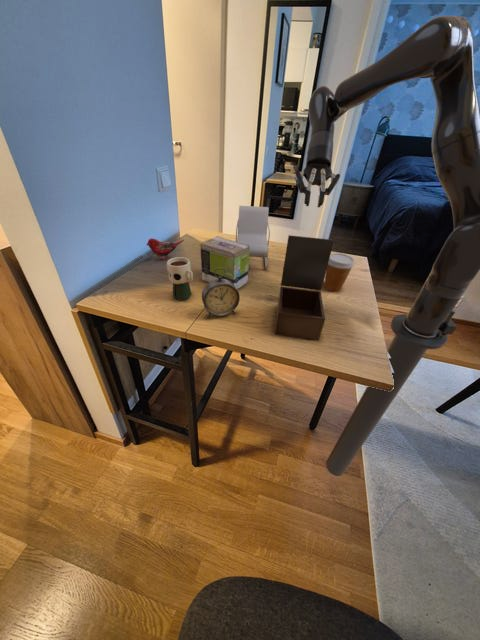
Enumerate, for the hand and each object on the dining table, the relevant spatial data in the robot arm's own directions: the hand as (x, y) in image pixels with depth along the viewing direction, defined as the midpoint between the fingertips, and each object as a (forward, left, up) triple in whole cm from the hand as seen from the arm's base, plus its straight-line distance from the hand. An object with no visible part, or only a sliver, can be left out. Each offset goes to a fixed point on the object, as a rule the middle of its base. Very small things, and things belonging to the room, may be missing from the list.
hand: (313, 205), depth 77 cm
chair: (+20, -24, -30) cm, 43 cm away
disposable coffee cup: (-14, -6, -30) cm, 34 cm away
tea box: (+27, -1, -30) cm, 41 cm away
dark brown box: (0, +19, -30) cm, 35 cm away
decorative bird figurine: (+55, -15, -30) cm, 65 cm away
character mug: (+39, +13, -30) cm, 51 cm away
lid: (0, +11, -14) cm, 18 cm away
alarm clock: (+24, +20, -30) cm, 43 cm away
